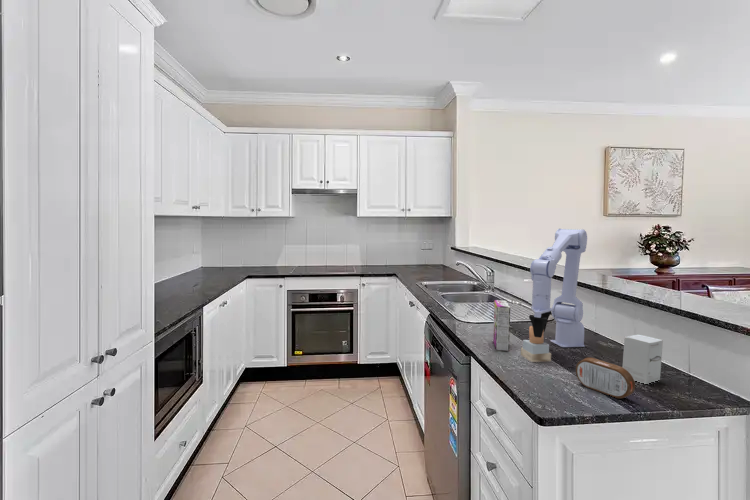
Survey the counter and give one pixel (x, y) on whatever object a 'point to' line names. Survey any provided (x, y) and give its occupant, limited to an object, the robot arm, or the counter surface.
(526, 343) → the grey-blue top block
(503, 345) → the candy bar box
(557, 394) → the counter surface
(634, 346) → the supplement box
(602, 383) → the tin
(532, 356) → the birch base block
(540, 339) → the light brown cylinder
